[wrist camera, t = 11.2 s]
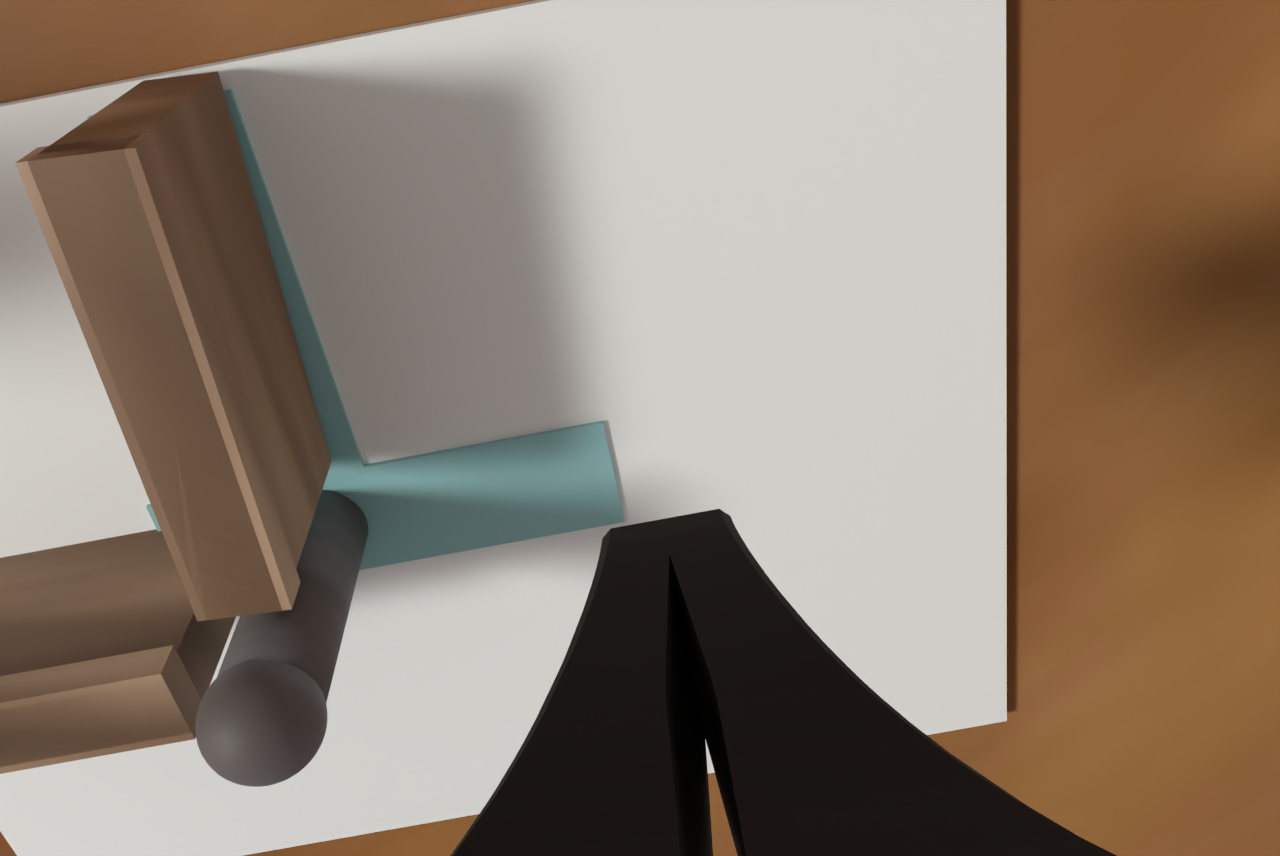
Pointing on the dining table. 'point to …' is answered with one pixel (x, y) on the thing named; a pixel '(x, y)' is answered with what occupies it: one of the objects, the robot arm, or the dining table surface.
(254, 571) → the fence panel
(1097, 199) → the dining table surface
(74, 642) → the cylinder
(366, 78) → the card
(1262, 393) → the dining table surface
